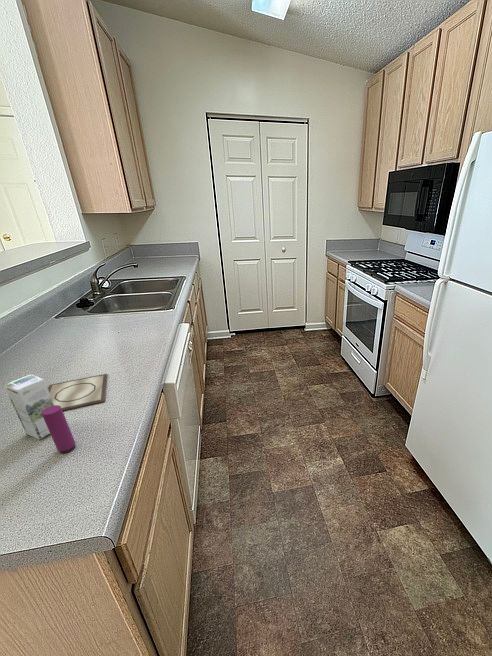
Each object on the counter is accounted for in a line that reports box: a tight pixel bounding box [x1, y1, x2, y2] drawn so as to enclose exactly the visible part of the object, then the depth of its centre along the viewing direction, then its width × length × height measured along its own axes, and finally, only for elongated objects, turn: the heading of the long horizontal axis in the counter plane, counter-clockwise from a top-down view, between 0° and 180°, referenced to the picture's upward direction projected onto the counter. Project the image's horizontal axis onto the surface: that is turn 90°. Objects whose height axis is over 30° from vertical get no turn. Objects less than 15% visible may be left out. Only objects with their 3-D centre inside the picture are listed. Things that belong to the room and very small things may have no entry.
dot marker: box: [41, 405, 76, 454], centre depth 75 cm, size 4×4×11 cm
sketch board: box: [47, 373, 108, 412], centre depth 99 cm, size 16×18×1 cm
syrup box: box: [3, 374, 54, 441], centre depth 80 cm, size 6×6×14 cm
